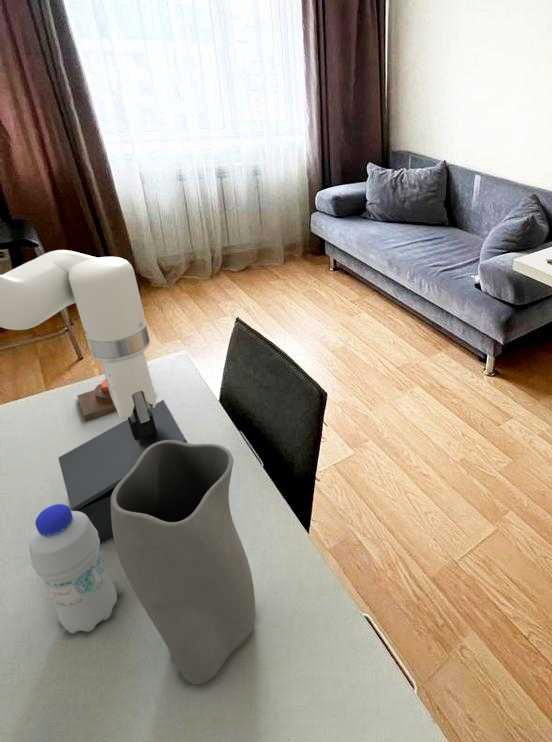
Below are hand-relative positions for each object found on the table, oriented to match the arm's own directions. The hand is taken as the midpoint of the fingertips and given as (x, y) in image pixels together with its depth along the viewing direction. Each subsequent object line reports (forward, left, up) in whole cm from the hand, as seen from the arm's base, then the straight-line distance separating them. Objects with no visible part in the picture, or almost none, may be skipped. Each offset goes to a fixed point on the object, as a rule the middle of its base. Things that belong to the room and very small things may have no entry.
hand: (144, 434), depth 81 cm
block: (-1, +30, -13) cm, 33 cm away
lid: (-3, 0, -2) cm, 4 cm away
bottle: (-13, -17, -13) cm, 25 cm away
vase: (-2, -31, -13) cm, 34 cm away
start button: (-1, +30, -9) cm, 31 cm away
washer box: (-4, 0, -13) cm, 13 cm away
